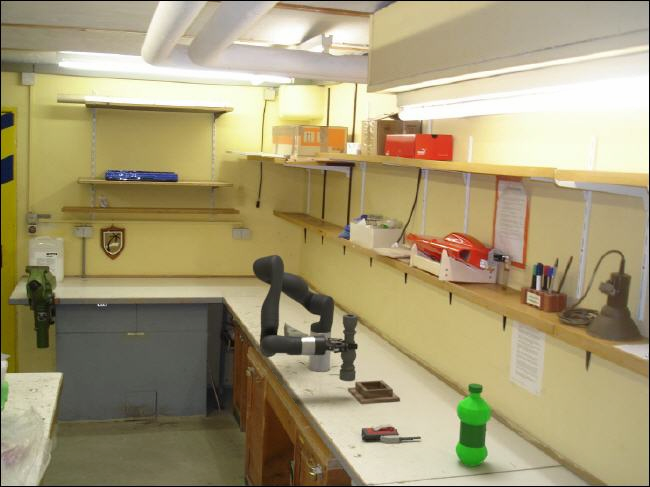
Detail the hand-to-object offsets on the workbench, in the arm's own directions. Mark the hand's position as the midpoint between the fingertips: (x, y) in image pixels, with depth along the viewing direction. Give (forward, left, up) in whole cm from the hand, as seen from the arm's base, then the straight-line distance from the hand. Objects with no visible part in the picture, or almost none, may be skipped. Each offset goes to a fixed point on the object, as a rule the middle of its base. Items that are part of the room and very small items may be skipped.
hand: (355, 344), depth 283 cm
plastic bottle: (+64, +17, -22) cm, 70 cm away
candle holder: (0, -3, -14) cm, 14 cm away
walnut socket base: (-2, +9, -22) cm, 23 cm away
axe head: (-75, -6, -22) cm, 78 cm away
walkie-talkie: (+40, -1, -22) cm, 46 cm away
